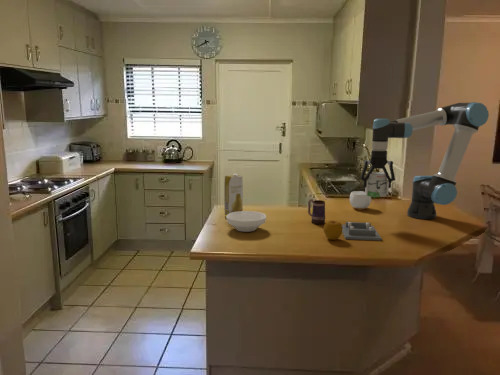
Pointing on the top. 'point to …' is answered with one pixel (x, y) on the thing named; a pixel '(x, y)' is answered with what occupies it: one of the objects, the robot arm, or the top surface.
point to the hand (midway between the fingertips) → (376, 193)
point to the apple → (333, 230)
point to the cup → (359, 200)
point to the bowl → (246, 220)
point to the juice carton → (233, 193)
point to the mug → (317, 211)
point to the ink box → (377, 184)
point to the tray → (360, 231)
